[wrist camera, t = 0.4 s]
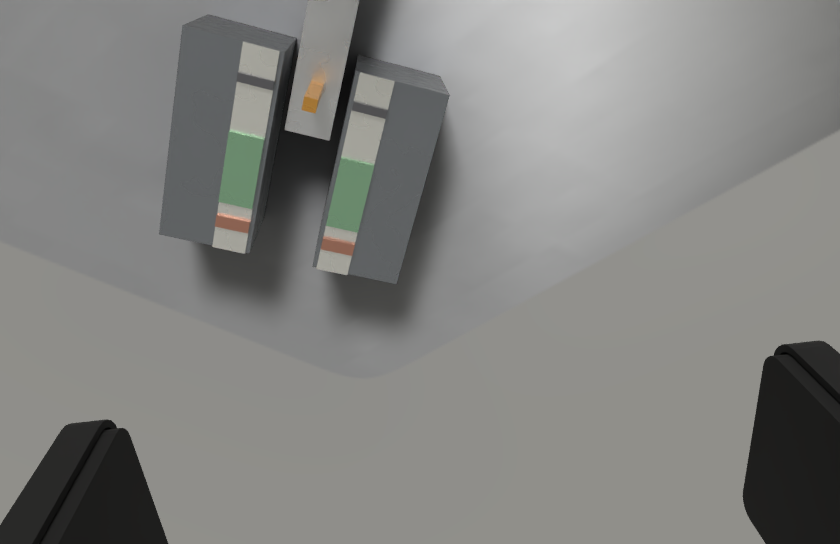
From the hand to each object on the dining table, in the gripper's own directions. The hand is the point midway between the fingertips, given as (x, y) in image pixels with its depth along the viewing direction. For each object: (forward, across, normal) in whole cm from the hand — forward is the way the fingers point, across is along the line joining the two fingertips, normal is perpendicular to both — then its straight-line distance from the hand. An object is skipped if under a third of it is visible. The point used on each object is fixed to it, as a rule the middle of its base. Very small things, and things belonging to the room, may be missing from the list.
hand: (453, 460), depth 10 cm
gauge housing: (+28, +5, +2) cm, 29 cm away
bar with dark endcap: (+27, +3, -4) cm, 28 cm away
